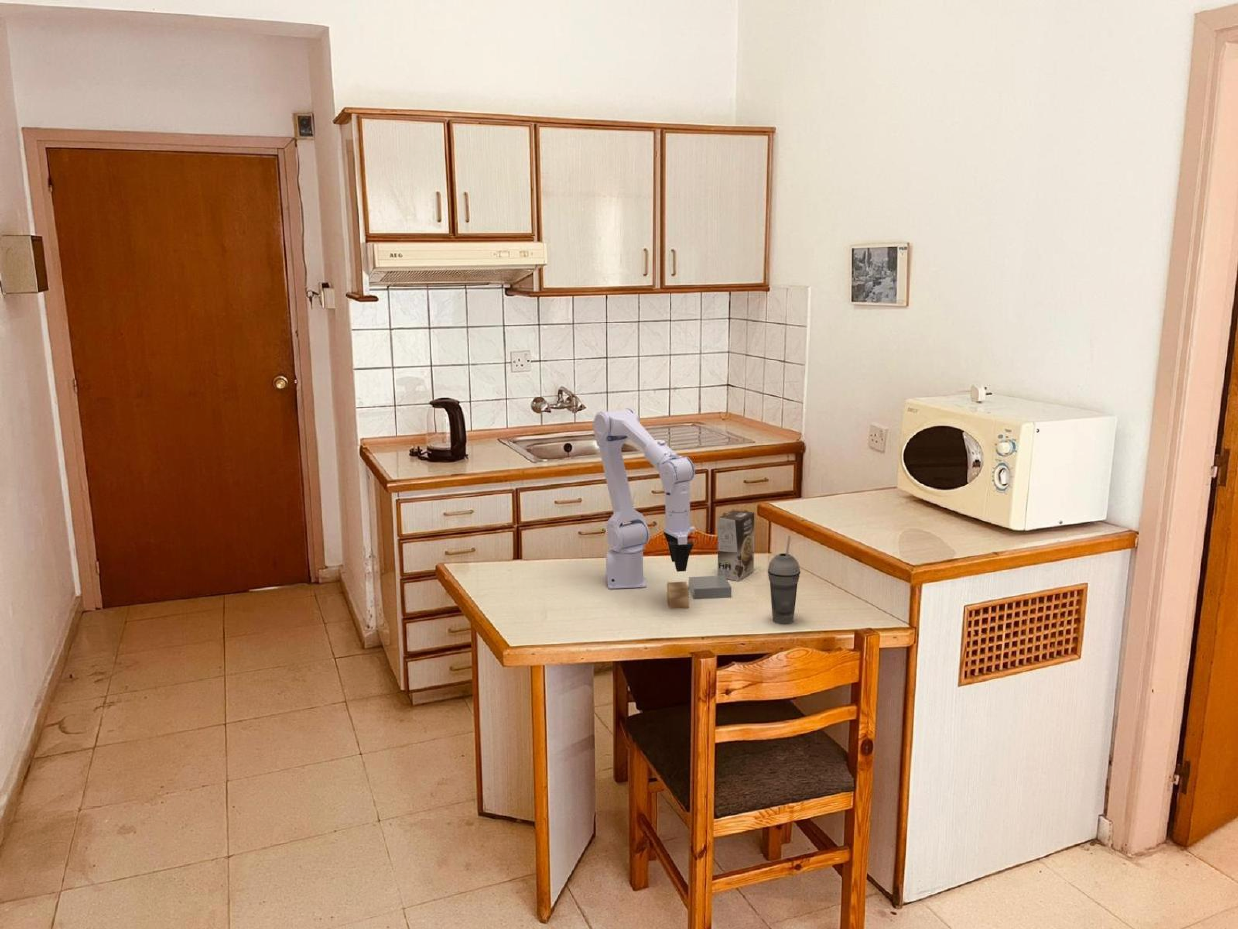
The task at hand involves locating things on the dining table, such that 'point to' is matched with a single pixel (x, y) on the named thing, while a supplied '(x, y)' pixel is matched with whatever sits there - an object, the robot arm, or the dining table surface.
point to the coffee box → (736, 544)
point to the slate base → (709, 587)
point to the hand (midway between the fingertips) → (678, 566)
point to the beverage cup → (783, 586)
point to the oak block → (677, 595)
